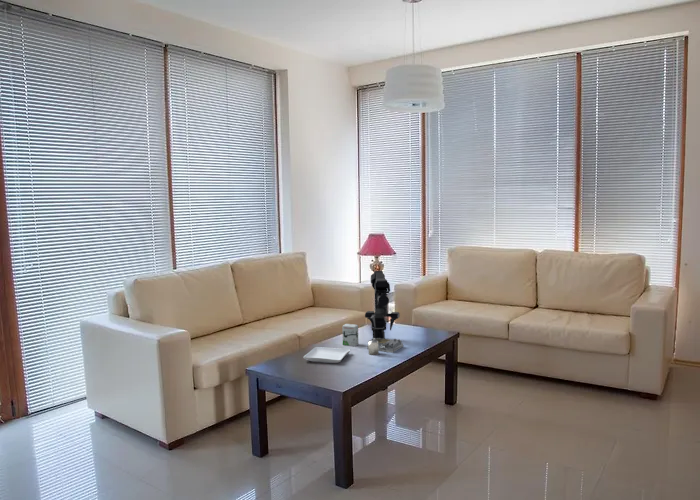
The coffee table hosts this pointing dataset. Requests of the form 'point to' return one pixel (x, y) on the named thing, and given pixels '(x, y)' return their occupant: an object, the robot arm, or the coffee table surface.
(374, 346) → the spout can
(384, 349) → the gearbox
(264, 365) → the coffee table surface
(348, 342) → the ink box
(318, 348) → the salad plate
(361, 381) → the coffee table surface
